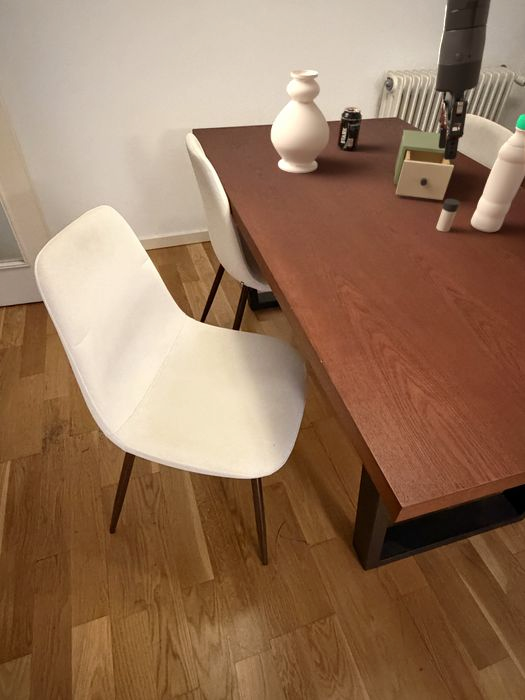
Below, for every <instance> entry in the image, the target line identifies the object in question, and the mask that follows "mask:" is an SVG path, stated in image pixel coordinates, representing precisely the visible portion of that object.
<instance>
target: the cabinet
mask: <svg viewBox="0 0 525 700" xmlns="http://www.w3.org/2000/svg"><path fill="white" fill-rule="evenodd" d="M439 137H440V132H433V131H432V132H431V131H421V130H420V131H419V130H412V129H411V130H409V129H403V133H402V136H401V141H400V145H399V150H398V154H397V158H396V162H395V167H394V178H393V185H395V186H398V182H399V178H400V173H401V169H402V165H403V161H404V157H405V153H406V150H416V151H426V152H436V153H444V152H445V148H443V149H440V148H439V146H438V145H439ZM452 162H453V159H451V160H449V163H450V164H449V165H452Z"/></svg>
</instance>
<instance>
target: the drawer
mask: <svg viewBox="0 0 525 700" xmlns="http://www.w3.org/2000/svg"><path fill="white" fill-rule="evenodd" d="M449 164H450V163H449V160H445V159H444V153H436V152H426V151H416V150H406V153H405V157H404V161H403V165H402V169H401V173H400V178H399V182H398V185H396V190H395V195H399V196H406V197H415V198H424V199H432V200H441V201H443V200H444V197H445V194H446V192H447V188H448V186H449V182H450V180H451V176H452V173H453V171H454V167H455V166H454V164H451V165H449Z"/></svg>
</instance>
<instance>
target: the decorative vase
mask: <svg viewBox="0 0 525 700" xmlns="http://www.w3.org/2000/svg"><path fill="white" fill-rule="evenodd" d="M290 76H291V78H293V79H292V80H290V81H289V82H288V84H287V86H286V93H287V95H288V96H289V98H290V99H291V100H290V101H289V102H288V103H287V104H286V105H285V106H284V107H283V108H282V110H281V111H280V112H278V114H277V116H276V118H275V119H274V121H273V124H272V126H271V130H270V140H271V144H272V146H273V148H274V149H275V151H276V152H277V153H278V156H280V158H281V159H280V160H279V161H278V163H277V167H278V168H279V169H280V170H282V171H283V172H286V173H293V174H307V173H312V172H314V171H316V170H318V169H317V168H318V162H317V161H316V159H317V158H318V156H319V155H321V153H322V152H323V151H324V150H325V148H326V147H327V145H328V143H329V141H330V127H329V124H328V121H327V119H326V117H325V115H324V113H323V112H322V110H321V109H320V107H319V106H318V105H317V103H316V101H314V100H315V99H316V98H317V97H318V96H319V95H320V92H321V87H320V85H319V83H318V81H316V80H315V79H316V78H318V76H319V72H318V71H316V70H312V69H295V70H290Z"/></svg>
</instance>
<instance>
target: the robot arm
mask: <svg viewBox="0 0 525 700" xmlns="http://www.w3.org/2000/svg"><path fill="white" fill-rule="evenodd" d="M491 2H492V0H446V3H445V4H446V5H445V13H444V21H443V31H442V35H441V39H440V40H441V41H440V44H439V51H438V58H437V59H438V60H437V68H436V76H435V84H434V89H435V91H436V92H438V93H442V95H441V96H442V97H441V104H440V112H439V118H438V123H439V129H440V130H439V133H440V137H439V145H438V146H439V148H440V149H443V148H445V152H444V159H445V160H451V159H452V160H455V159H456V158H457V154H458V149H459V142H460V139H461V138H463V136H464V134H465V124H466V117H467V112H468V111H467V110H468V106H469V101H468V100H465V92H467V91H468V90H473V89H475V88H477V87H478V85H479V82H480V76H481V70H482V65H483V58H484V53H485V47H486V40H487V26H488V25H487V24H488V21H489V16H490V15H489V14H490V8H491V4H492V3H491ZM454 128H456V129H457V130H453V129H454Z"/></svg>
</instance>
